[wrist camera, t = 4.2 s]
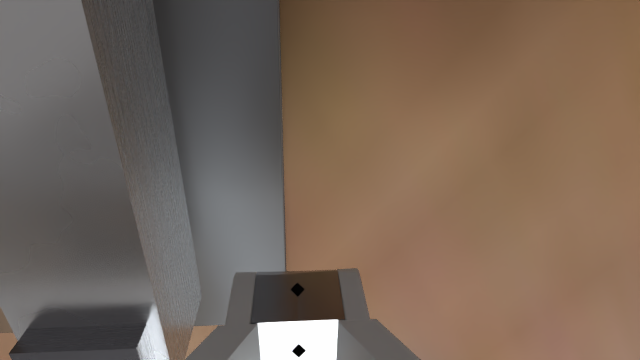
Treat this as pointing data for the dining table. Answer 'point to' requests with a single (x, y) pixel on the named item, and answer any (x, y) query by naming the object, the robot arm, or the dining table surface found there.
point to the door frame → (226, 138)
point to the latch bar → (91, 186)
